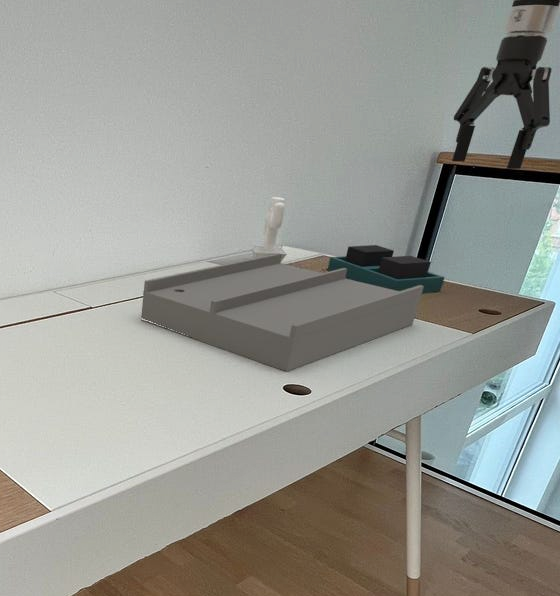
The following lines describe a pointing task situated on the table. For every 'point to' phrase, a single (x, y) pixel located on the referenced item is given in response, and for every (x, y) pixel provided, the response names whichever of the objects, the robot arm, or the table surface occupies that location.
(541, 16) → the robot arm
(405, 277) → the pad
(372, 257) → the pad
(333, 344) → the desk organizer
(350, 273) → the back divided tray
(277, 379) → the table surface
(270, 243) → the figurine
